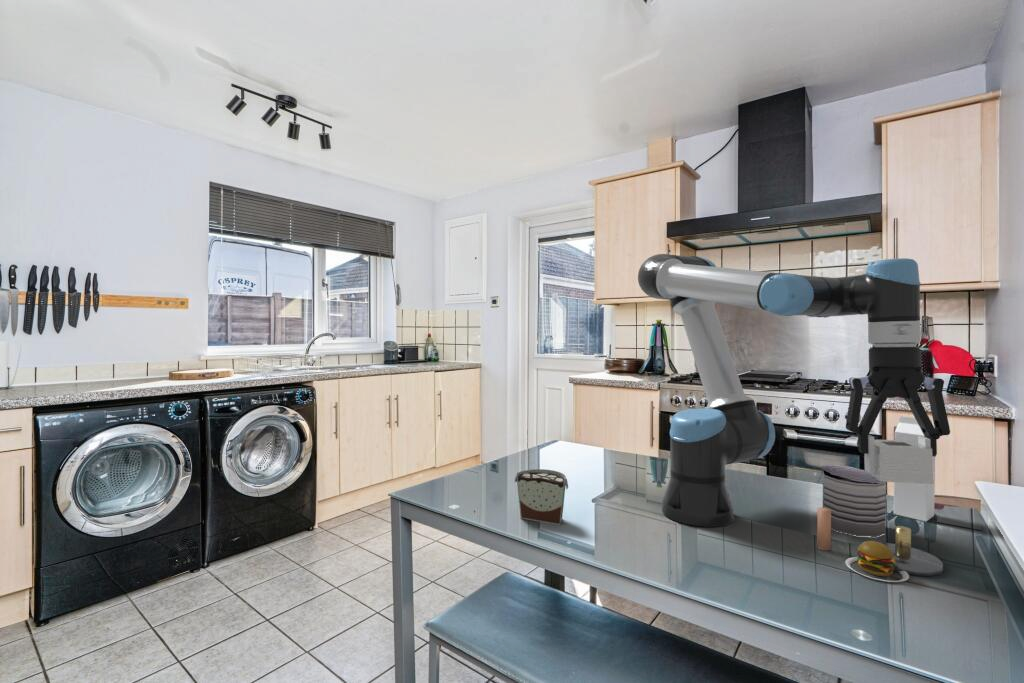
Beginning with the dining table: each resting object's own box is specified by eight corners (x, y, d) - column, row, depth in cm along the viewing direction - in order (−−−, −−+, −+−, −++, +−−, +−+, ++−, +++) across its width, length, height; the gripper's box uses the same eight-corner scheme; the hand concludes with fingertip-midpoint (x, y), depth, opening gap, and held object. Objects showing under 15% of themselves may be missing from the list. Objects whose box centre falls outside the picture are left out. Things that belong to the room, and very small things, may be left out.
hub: (880, 571, 86) (880, 536, 86) (856, 544, 97) (856, 514, 97) (957, 579, 83) (957, 544, 83) (923, 551, 94) (924, 520, 94)
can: (829, 513, 114) (829, 461, 114) (890, 527, 106) (891, 470, 105) (814, 527, 106) (815, 471, 106) (880, 543, 98) (881, 482, 97)
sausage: (819, 550, 95) (819, 510, 95) (815, 545, 97) (816, 507, 97) (832, 551, 94) (832, 512, 94) (828, 546, 96) (828, 508, 96)
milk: (926, 522, 109) (928, 421, 108) (892, 514, 113) (894, 417, 113) (934, 515, 112) (936, 418, 112) (901, 508, 117) (903, 414, 116)
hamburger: (889, 598, 79) (890, 564, 79) (819, 565, 90) (819, 535, 90) (937, 584, 83) (938, 552, 83) (864, 554, 94) (864, 525, 94)
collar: (880, 481, 87) (879, 446, 87) (864, 470, 94) (863, 439, 94) (933, 484, 85) (932, 448, 85) (913, 473, 92) (912, 440, 92)
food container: (575, 516, 112) (575, 472, 112) (566, 526, 107) (567, 479, 106) (525, 508, 117) (525, 466, 117) (514, 517, 112) (514, 472, 112)
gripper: (834, 346, 89) (837, 474, 89) (976, 344, 83) (979, 482, 83) (823, 346, 96) (825, 464, 96) (952, 344, 90) (955, 471, 90)
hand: (896, 472), depth 90 cm, fingers closed on collar, 8 cm apart
